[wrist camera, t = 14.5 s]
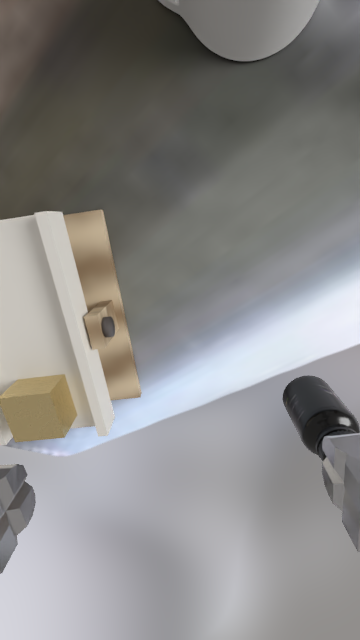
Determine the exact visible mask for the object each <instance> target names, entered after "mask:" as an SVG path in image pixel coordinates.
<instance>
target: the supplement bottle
mask: <svg viewBox="0 0 360 640" xmlns="http://www.w3.org/2000/svg"><path fill="white" fill-rule="evenodd" d="M283 402H284V405H285V407H286V410H287V412H288V414H289V416H290V417H291V420H292V422H293V423H294V426H295V427H296V430H297V432H298V434H299V435H300V437H301V439H302V442H303V443H304V445H305V446H306V447H307V448H308V449H309V450H310V451H311V452H313V453H315V454H317V455H319V457H320V458H321V459H322V461H324V460H325V459H326V457H327V456H326V455H325V453H324V451H323V449H322V442H323V439H324V436H334V435H344V434H354V433H360V427H359V424H358V421H357V420H356V418H355V417H354V415H352V413H351V412H350V411H349V409H348V408H347V407H346V406H345V405H344V403H343V402H342V401H341V400H340V399H339V397H338V396H337V395H336V394H335V393H334V391H333V390H332V389H331V388H330V387H329V386H328V384H327V383H325V382H324V381H323V380H322V379H320V378H318V377H315V376H302V377H299V378H296V379H294V380H293V381H291V382H290V383H289V384H288V385H287V387H286V389H285V390H284V393H283Z"/></svg>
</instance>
